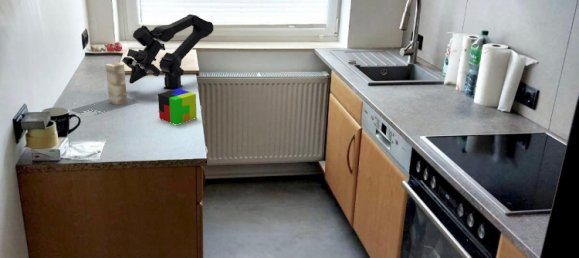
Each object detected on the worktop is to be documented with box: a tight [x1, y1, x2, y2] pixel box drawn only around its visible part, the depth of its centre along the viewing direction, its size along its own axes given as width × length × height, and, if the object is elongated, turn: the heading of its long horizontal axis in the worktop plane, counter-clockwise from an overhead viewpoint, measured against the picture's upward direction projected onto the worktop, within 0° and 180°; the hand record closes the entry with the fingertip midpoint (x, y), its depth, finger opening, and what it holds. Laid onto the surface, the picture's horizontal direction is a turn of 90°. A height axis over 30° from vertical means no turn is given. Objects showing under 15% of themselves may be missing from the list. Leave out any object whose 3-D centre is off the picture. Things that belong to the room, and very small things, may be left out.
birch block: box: [105, 61, 128, 105], centre depth 216 cm, size 5×5×16 cm
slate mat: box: [70, 97, 139, 114], centre depth 214 cm, size 24×12×1 cm, turn 143°
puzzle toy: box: [157, 88, 198, 125], centre depth 204 cm, size 10×10×10 cm
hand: (130, 83), depth 221 cm, fingers closed
